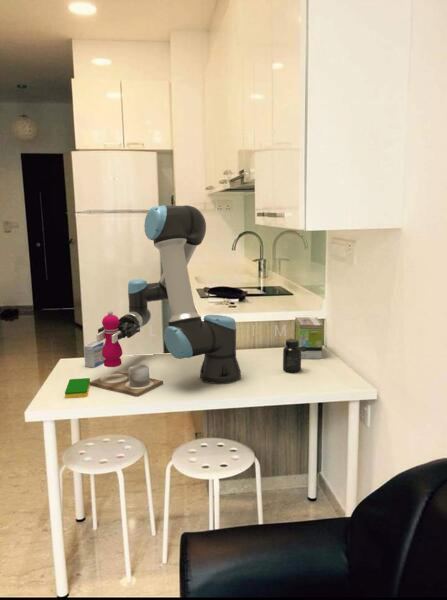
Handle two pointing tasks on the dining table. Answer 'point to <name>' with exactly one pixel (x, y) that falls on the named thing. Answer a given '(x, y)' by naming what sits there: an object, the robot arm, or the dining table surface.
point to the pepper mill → (110, 349)
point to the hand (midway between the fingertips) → (105, 339)
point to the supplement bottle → (292, 356)
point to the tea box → (309, 337)
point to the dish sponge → (77, 388)
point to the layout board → (128, 381)
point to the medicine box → (93, 354)
